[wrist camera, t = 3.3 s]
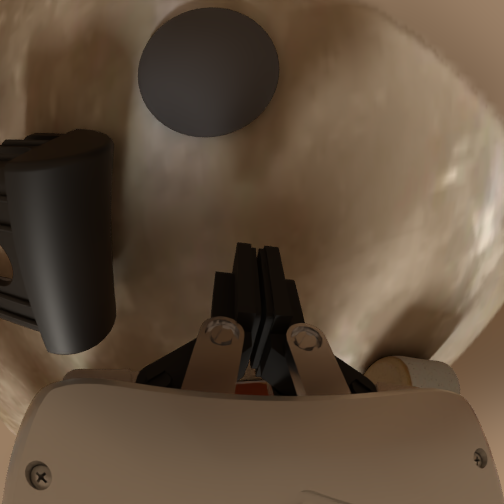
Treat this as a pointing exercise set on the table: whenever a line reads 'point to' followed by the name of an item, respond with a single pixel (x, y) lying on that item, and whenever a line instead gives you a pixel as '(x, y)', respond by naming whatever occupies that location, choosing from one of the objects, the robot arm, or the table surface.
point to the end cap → (58, 237)
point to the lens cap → (208, 72)
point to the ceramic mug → (414, 373)
